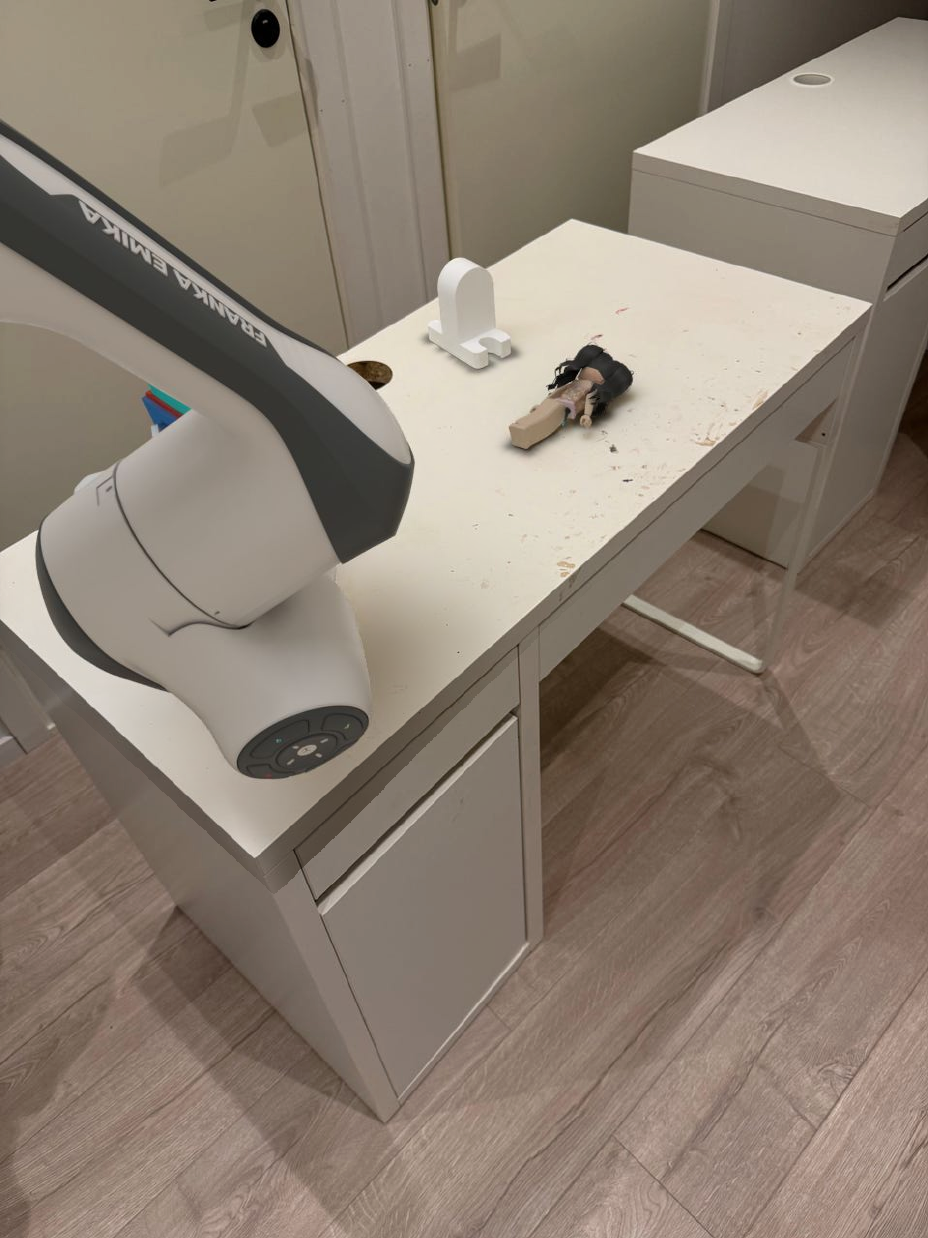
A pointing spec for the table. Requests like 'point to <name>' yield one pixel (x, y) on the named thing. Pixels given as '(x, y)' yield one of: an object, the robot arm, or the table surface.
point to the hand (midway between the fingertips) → (220, 414)
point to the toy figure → (574, 395)
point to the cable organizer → (467, 314)
